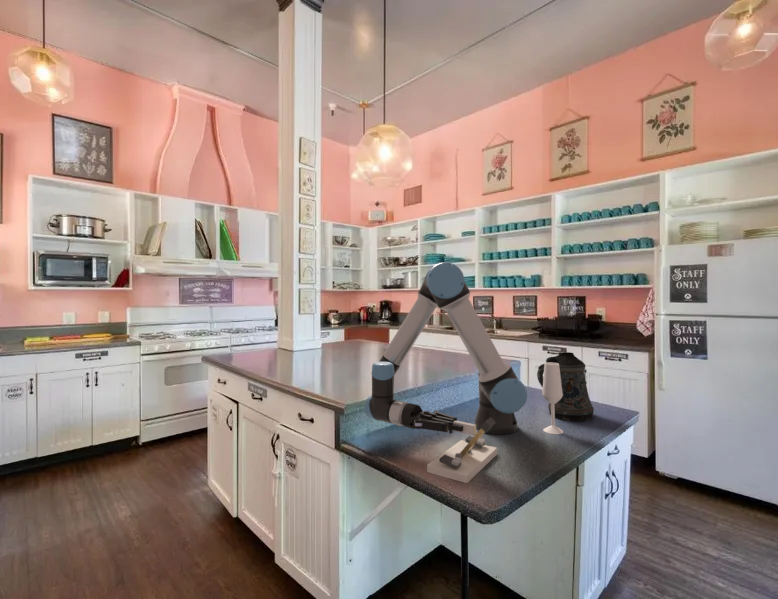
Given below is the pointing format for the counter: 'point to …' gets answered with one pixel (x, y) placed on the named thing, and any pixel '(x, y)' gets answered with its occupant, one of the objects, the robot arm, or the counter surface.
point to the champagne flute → (552, 392)
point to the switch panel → (463, 462)
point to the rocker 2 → (479, 443)
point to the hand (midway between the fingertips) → (475, 430)
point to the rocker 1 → (451, 461)
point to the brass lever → (478, 435)
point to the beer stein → (570, 389)
